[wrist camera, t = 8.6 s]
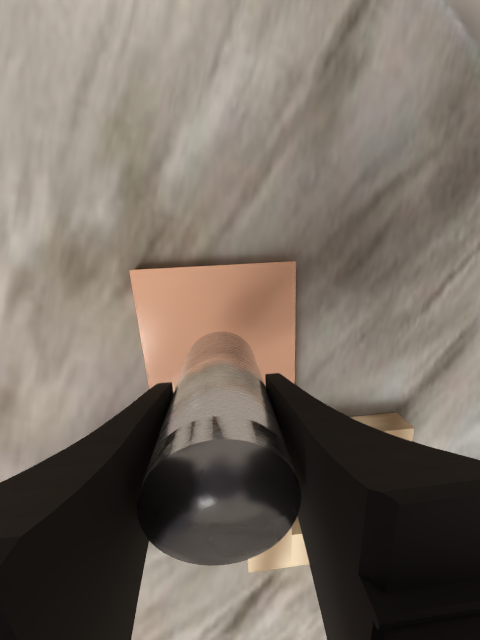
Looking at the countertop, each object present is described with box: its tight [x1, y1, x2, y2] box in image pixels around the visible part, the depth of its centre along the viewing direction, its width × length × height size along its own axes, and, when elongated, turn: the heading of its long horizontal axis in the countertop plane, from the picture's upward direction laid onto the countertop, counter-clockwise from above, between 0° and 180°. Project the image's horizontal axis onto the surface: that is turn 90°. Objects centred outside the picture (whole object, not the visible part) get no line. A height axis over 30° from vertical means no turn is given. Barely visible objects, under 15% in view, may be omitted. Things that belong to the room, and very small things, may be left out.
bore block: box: [247, 412, 414, 572], centre depth 21 cm, size 14×14×2 cm
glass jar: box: [137, 332, 301, 565], centre depth 10 cm, size 4×4×8 cm
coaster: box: [129, 261, 296, 393], centre depth 17 cm, size 11×11×1 cm
